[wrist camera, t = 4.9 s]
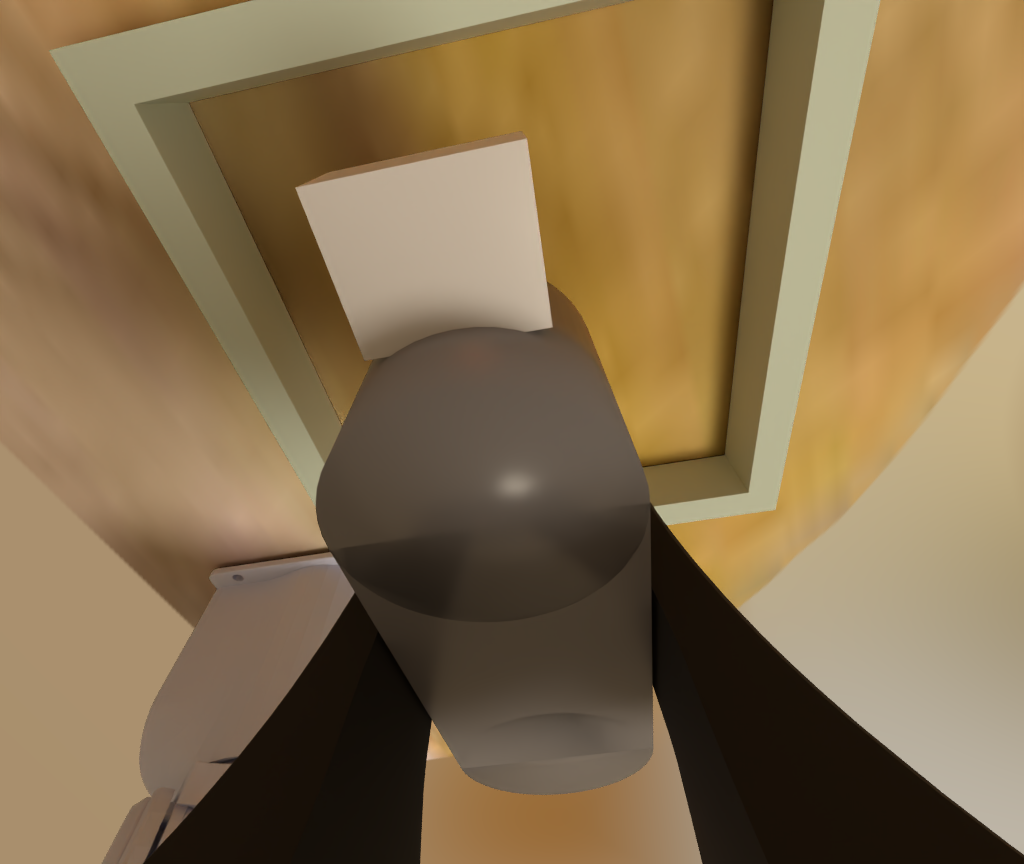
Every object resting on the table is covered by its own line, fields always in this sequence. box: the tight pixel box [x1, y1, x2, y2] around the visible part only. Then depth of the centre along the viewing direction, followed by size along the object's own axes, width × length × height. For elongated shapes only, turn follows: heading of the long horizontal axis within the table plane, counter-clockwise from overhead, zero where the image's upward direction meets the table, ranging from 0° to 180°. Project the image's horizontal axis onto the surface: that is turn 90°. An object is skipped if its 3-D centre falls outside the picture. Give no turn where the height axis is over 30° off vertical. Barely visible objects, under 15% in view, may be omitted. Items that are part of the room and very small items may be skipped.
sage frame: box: [49, 0, 880, 525], centre depth 16 cm, size 18×18×2 cm
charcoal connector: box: [295, 131, 653, 795], centre depth 9 cm, size 4×13×4 cm, turn 10°
